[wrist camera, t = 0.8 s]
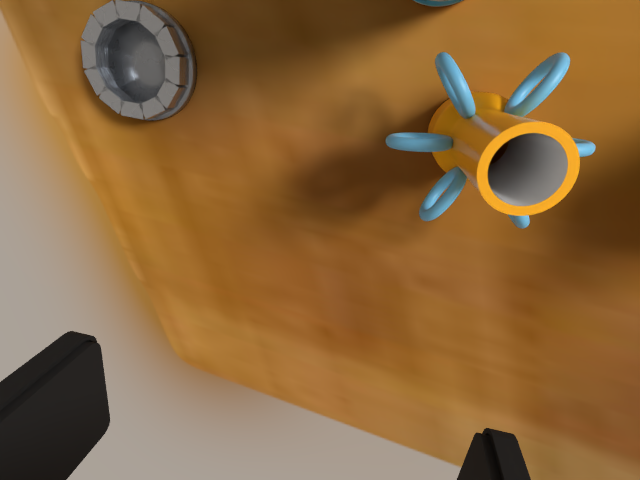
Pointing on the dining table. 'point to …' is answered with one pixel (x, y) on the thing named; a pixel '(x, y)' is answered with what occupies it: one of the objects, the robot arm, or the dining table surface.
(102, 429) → the robot arm
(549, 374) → the dining table surface
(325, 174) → the dining table surface
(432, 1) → the blue lidded canister
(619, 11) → the dining table surface
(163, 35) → the duct flange
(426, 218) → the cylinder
